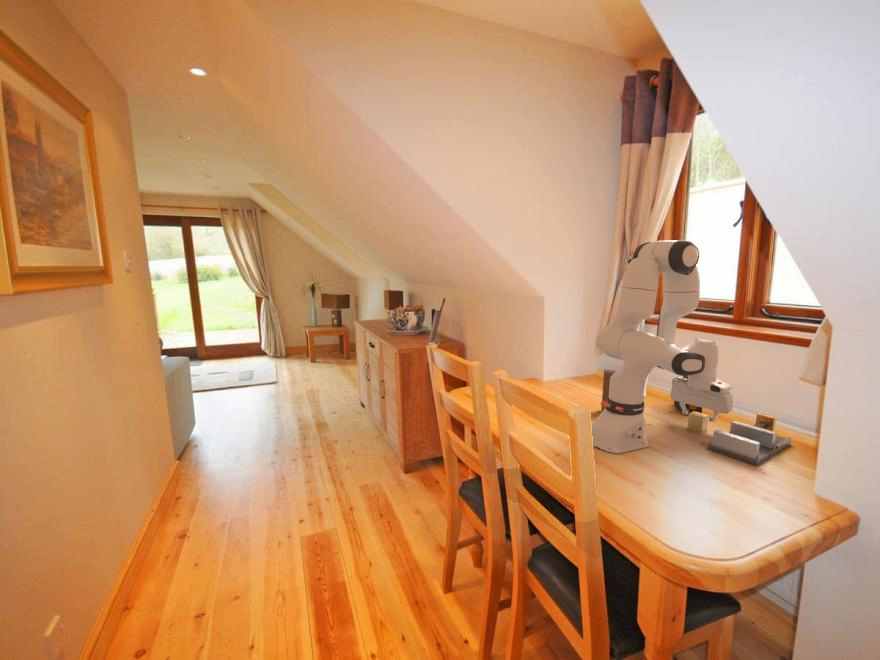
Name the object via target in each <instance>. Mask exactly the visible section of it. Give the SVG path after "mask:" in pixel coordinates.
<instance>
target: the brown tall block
mask: <svg viewBox="0 0 880 660" xmlns="http://www.w3.org/2000/svg"><path fill="white" fill-rule="evenodd" d="M615 372H617V370H613V369H604V371H603V382H602V395H601V397H602V398H601V402H602V401H605V402H606V400H607V398H608V396H609V386H610V378H611V376H612V375H613V374H614V373H615ZM604 409H605V407H602V406H601V413H602V412H603V410H604ZM601 413H600V414H601Z"/></svg>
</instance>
